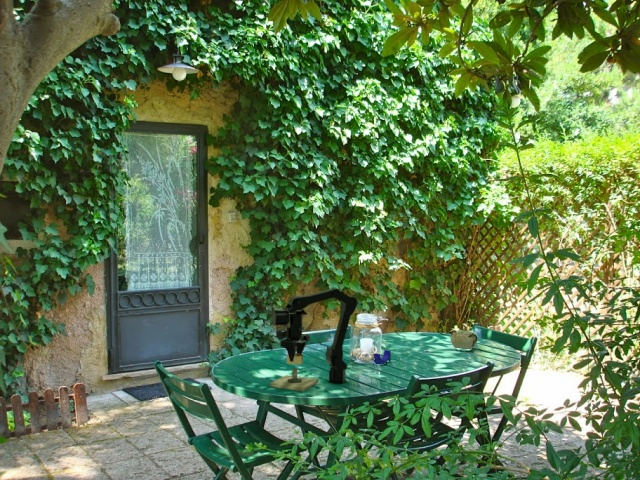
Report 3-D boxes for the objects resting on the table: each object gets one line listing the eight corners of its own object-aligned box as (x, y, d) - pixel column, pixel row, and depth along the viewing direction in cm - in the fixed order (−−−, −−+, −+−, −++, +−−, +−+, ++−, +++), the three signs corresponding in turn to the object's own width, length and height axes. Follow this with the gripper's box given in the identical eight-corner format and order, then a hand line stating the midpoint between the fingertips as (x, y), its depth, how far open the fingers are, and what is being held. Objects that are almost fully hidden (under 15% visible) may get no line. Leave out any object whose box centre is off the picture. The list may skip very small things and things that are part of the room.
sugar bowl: (441, 348, 368) (442, 322, 368) (459, 346, 377) (460, 321, 376) (467, 355, 352) (468, 328, 352) (485, 352, 360) (486, 326, 360)
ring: (305, 361, 282) (305, 354, 282) (298, 365, 275) (299, 357, 275) (291, 360, 284) (291, 352, 284) (284, 363, 278) (284, 355, 278)
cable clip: (381, 366, 320) (381, 354, 320) (373, 365, 322) (373, 353, 322) (392, 362, 329) (393, 351, 329) (385, 361, 332) (385, 349, 332)
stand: (318, 382, 284) (318, 367, 284) (303, 391, 270) (303, 374, 269) (286, 378, 291) (286, 363, 290) (270, 386, 276) (270, 370, 276)
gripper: (288, 320, 291) (287, 354, 292) (269, 326, 274) (269, 362, 274) (310, 322, 287) (309, 356, 287) (293, 328, 270) (292, 365, 270)
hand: (295, 359), depth 280 cm, fingers closed on ring, 7 cm apart
